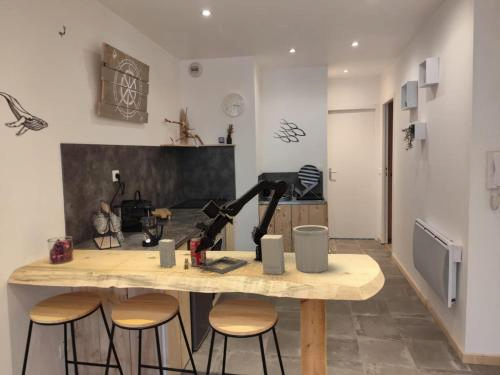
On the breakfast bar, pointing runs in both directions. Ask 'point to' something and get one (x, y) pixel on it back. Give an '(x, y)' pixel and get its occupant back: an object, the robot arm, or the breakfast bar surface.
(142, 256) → the breakfast bar surface
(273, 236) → the skincare box
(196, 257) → the soda can
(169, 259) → the skincare box
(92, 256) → the breakfast bar surface
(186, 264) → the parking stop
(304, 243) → the utensil holder
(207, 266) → the plate
